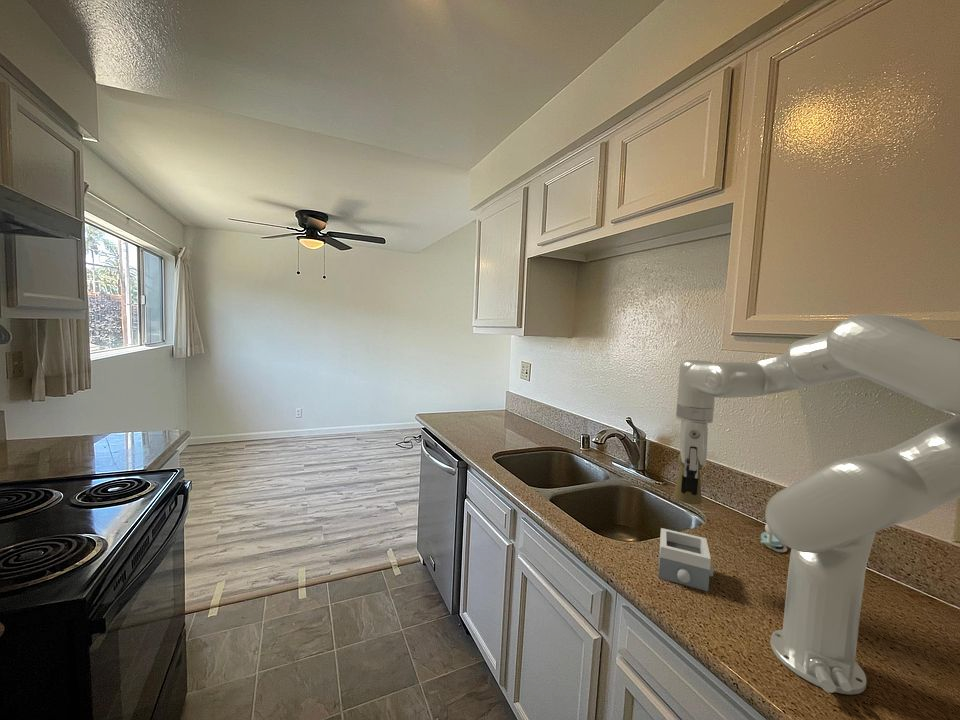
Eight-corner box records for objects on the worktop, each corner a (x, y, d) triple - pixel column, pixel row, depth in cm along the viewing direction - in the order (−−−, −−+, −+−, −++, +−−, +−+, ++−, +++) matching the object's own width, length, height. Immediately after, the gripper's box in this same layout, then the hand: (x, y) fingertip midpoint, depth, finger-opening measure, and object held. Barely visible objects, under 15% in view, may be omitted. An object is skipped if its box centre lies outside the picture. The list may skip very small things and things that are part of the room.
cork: (700, 506, 87) (704, 459, 86) (670, 499, 90) (674, 453, 90) (703, 498, 92) (707, 453, 91) (675, 491, 95) (679, 447, 95)
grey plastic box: (715, 596, 84) (717, 563, 83) (658, 580, 89) (660, 549, 88) (709, 569, 94) (711, 539, 94) (658, 556, 99) (661, 528, 98)
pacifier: (786, 545, 107) (760, 537, 111) (789, 524, 107) (762, 516, 110) (787, 557, 101) (759, 548, 105) (790, 534, 101) (762, 526, 105)
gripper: (717, 422, 81) (710, 507, 82) (709, 409, 96) (703, 481, 97) (677, 417, 84) (671, 499, 85) (675, 406, 99) (669, 476, 100)
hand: (688, 489), depth 91 cm, fingers closed on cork, 3 cm apart
